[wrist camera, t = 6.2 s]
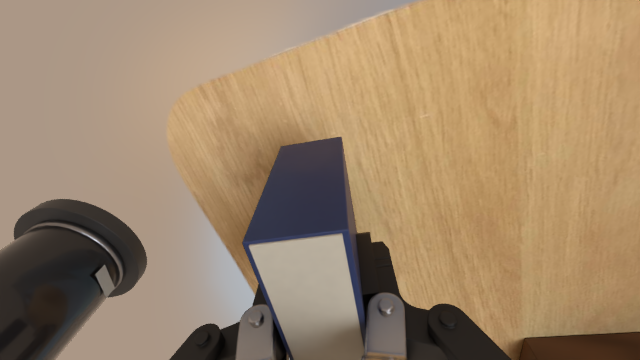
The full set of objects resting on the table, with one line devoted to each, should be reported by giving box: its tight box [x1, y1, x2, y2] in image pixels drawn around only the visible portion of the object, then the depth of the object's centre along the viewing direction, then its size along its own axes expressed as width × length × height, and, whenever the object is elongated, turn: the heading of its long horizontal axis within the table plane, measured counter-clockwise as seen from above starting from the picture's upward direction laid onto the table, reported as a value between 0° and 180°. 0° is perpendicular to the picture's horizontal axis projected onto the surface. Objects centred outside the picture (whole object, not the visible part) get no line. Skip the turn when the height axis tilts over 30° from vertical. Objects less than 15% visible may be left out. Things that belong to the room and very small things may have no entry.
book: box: [242, 137, 367, 360], centre depth 13 cm, size 3×10×7 cm, turn 11°
